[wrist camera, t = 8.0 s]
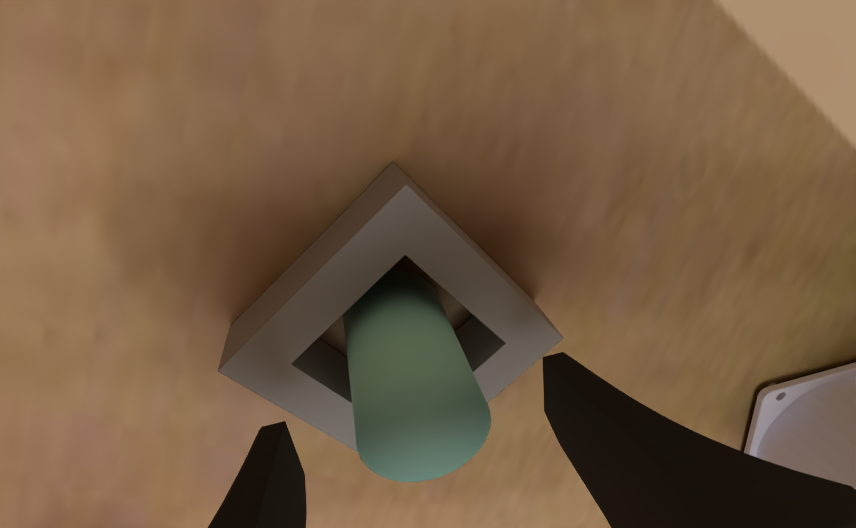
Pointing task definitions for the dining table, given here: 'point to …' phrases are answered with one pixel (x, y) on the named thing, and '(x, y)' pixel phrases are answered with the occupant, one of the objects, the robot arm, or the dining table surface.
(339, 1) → the dining table surface
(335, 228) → the socket
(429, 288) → the peg
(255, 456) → the robot arm
